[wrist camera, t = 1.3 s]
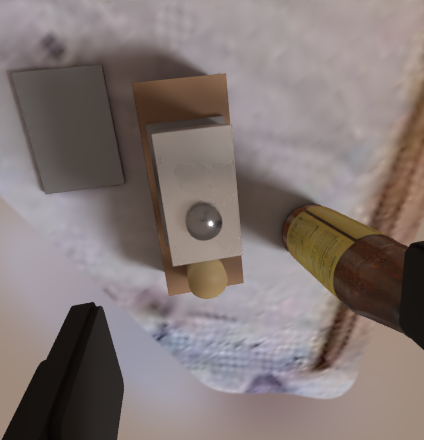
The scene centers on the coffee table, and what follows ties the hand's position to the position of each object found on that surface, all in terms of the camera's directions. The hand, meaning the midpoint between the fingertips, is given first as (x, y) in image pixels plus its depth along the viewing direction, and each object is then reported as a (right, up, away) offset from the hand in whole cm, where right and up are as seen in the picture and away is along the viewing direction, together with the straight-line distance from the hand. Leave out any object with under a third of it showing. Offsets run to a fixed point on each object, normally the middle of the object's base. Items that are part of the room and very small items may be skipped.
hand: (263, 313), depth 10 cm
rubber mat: (-14, +10, +18) cm, 25 cm away
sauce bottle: (+9, +2, +25) cm, 26 cm away
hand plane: (-4, +6, +21) cm, 22 cm away
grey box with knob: (-3, +6, +16) cm, 17 cm away
